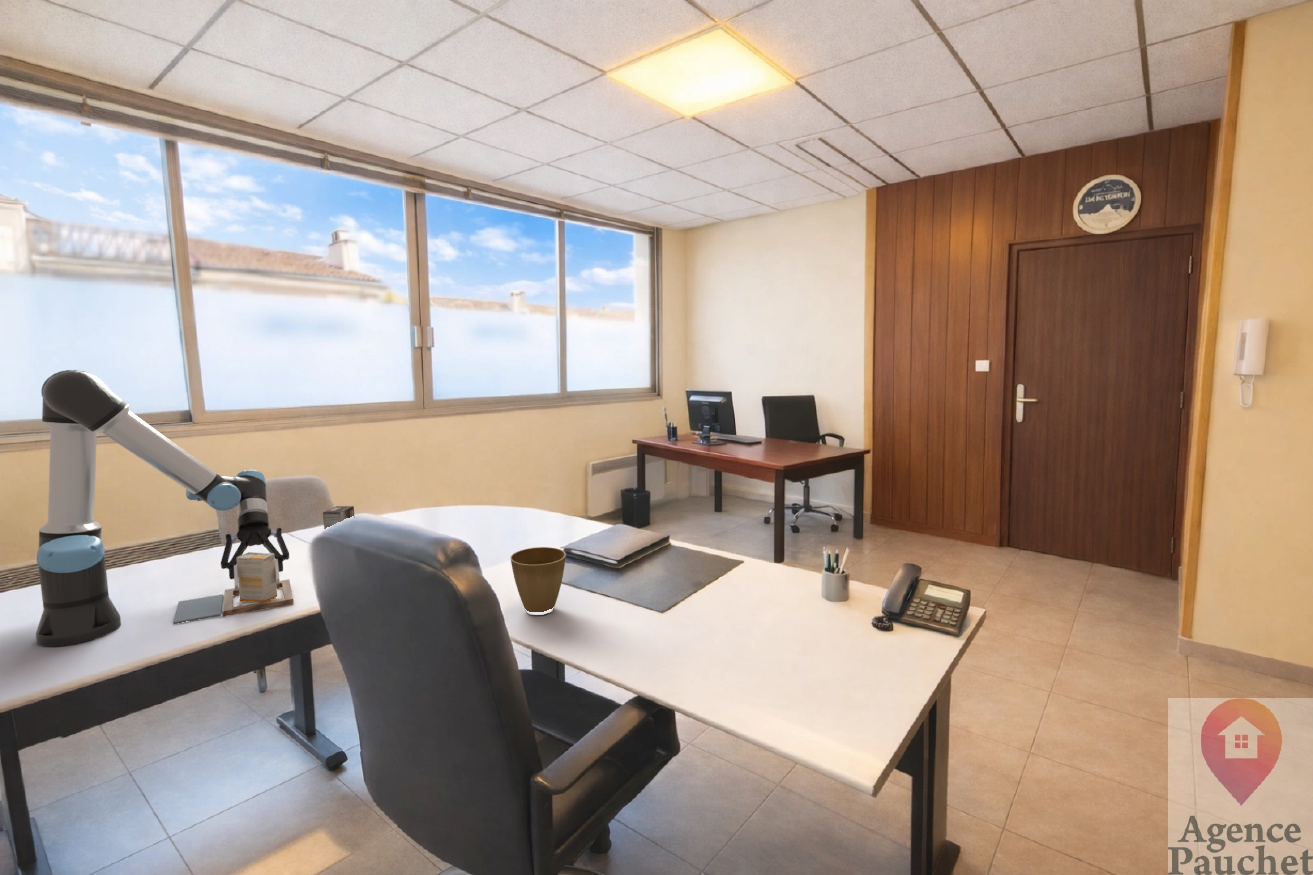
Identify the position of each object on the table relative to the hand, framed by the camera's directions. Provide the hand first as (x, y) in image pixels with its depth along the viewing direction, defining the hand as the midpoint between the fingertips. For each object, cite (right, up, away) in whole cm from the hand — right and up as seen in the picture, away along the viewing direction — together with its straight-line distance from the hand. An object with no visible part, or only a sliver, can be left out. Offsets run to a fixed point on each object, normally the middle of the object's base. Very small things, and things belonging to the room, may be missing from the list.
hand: (257, 584), depth 168 cm
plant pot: (+79, -7, -2) cm, 79 cm away
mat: (-13, -6, -4) cm, 15 cm away
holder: (-2, -5, +3) cm, 6 cm away
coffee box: (0, 0, +45) cm, 45 cm away
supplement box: (-2, -5, +3) cm, 6 cm away
